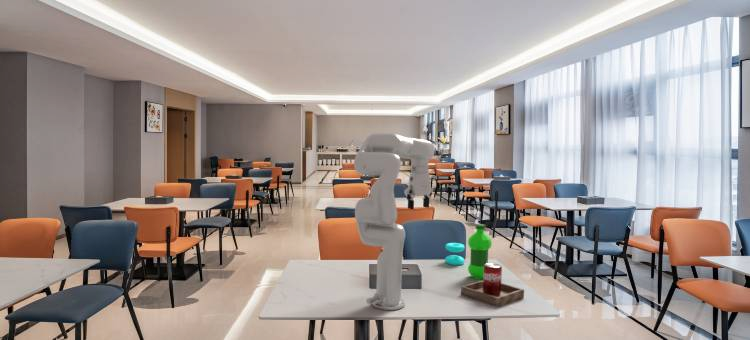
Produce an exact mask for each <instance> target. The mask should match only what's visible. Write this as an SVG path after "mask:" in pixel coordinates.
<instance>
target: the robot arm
mask: <svg viewBox="0 0 750 340" xmlns="http://www.w3.org/2000/svg"><path fill="white" fill-rule="evenodd" d="M435 149H436V148H435V145H434V144H433V142H431V141H429V140H426V139H420V138H414V137H409V136H404V135H400V134H398V133H392V132H391V133H389V132H388V133H385V132H384V133H382V132H379V133H378V132H373V133H372V134H370V135H369V136H367V137H366V139H365V140H364V142H363V143H362V145H361V146H360V148H359V149H358V151H357V153H356V156H355V158H354V161H353V163H354V164H353V167H354V170H355V171H356V173H358V174H360V175H363V176H379V177H378V178H377V180H375V182H374V183H373V184H372V186H371V188H370V191H369V194H370V197H363V198H360V199H358V200H357V202H356V203H355V208H354V217H355V222H356V227H357V230H358V234H359V238H360V241H361V242H362V244H363V245H365V246H370V247H379V248H383V250H382V251H381V252H380V253H379V255H378V256H377V261H376V292H375V293H373V296H372V297H368V298H366V303H367V304H369V305H370V304H372V306H373V308H374V307H375V308H377V309H379V310H385V311H386V310H387V311H393V310H396V311H397V310H399V309H402V308H404V307H405V305H406V302H405V300H404V299H403V298H402V274H403V268H402V267H403V251H404V245H405V244H404V243H405V239H406V231H405V230H406V229H405V228H404V226H403V225H401V224H399V223H396V222H397V220H398V209H397V205H396V200H395V199H396V198H395V191H394V189H395V186H396V185H395V184H396V181H397V179H398V177H399V174H400V169H401V164H402V163H401V162H402V161H401V159H409V160H410V161H411V166H410V174H409V178H408V179H409V180H408V187H407V188H405V189H403V192H404V196H405V197H406V200H407V210H415V209H414V205H415V200H414V198H415V197H416V196H417V197H422V196H423V197H424V198H423V201H422V202H423V203H422V206H423V208H427V209H428V208H430V199H431V196H432V195H433V192H434V188H433V187H431V186H432V185H431V177H430V176H431V175H430V173H429V160H431V159H433V157H434V156H435V152H436V151H435Z"/></svg>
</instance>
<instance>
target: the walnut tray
mask: <svg viewBox="0 0 750 340" xmlns="http://www.w3.org/2000/svg"><path fill="white" fill-rule="evenodd" d="M460 295H461V296H463V297H466V298H470V299H472V300H475V301H477V302H481V303H484V304H486V305H489V306H493V307H496V308H500V307H502V306H505V305H508V304H510V303H513V302H517V301H520V300H522V299H524V297H525V289H523V288H520V287H516V286H513V285H510V284H507V283H503V282H501V294H500V295H499V296H492V295H489V294H486V293H483V279H481V280H479V281H475V282H473V283H468V284H464V285H461V287H460Z"/></svg>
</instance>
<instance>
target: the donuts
mask: <svg viewBox="0 0 750 340" xmlns="http://www.w3.org/2000/svg"><path fill="white" fill-rule="evenodd" d="M445 250H446V251H448V252H450V253H461V252H463V251H465V244H463V243H460V242H459V243H458V242H449V243H446V244H445ZM444 262H445V263H446V264H448V265H452V266H461V265H464V263H465V258H464V257H462V256H460V255H456V254H452V255H447V256H445V259H444Z"/></svg>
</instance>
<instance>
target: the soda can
mask: <svg viewBox="0 0 750 340" xmlns="http://www.w3.org/2000/svg"><path fill="white" fill-rule="evenodd" d="M502 273H503V266H502V265H501V264H499V263H493V262H490V263H489V262H488V263H486V264H485V265H484V270H483V279H482V280H483V293H486V294H489V295H492V296H499V295H500V294H501V283H502Z"/></svg>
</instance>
